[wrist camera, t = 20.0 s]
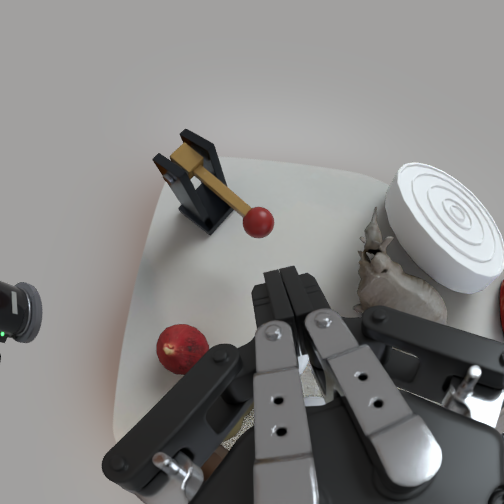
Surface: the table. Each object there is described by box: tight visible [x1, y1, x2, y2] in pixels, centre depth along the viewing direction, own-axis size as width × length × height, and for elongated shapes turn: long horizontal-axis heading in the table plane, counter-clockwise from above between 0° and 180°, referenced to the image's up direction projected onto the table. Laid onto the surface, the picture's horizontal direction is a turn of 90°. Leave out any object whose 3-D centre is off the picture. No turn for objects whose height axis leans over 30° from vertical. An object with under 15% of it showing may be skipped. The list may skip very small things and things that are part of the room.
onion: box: [157, 324, 209, 375], centre depth 29 cm, size 6×6×8 cm
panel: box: [201, 445, 229, 481], centre depth 25 cm, size 10×9×3 cm
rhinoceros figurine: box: [353, 207, 447, 325], centre depth 28 cm, size 8×14×15 cm
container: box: [385, 162, 504, 294], centre depth 30 cm, size 20×20×5 cm
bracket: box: [153, 129, 234, 235], centre depth 32 cm, size 6×6×13 cm
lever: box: [170, 142, 274, 238], centre depth 28 cm, size 13×3×3 cm, turn 50°
